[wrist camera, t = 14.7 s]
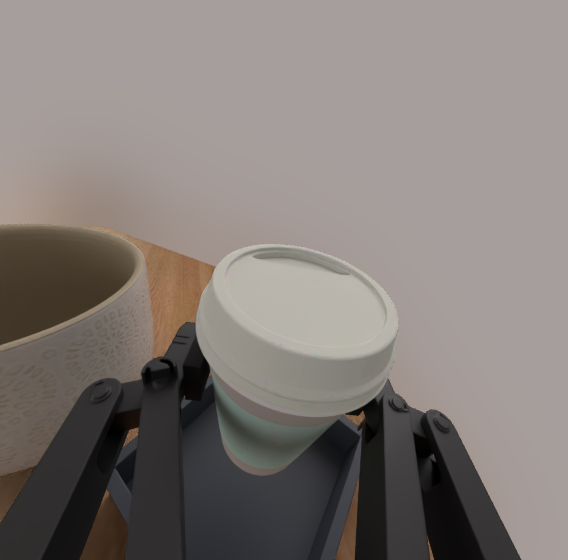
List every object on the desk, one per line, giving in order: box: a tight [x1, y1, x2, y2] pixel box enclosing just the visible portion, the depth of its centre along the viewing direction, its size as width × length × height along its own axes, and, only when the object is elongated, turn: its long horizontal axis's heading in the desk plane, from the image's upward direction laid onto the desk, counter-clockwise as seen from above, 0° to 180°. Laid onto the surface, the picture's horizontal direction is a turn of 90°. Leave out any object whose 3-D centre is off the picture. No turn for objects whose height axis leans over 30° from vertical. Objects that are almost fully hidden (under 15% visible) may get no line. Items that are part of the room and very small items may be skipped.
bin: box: [107, 376, 362, 560], centre depth 19 cm, size 16×16×5 cm
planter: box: [0, 224, 154, 476], centre depth 18 cm, size 17×17×15 cm
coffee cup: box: [196, 244, 399, 476], centre depth 12 cm, size 8×8×12 cm
